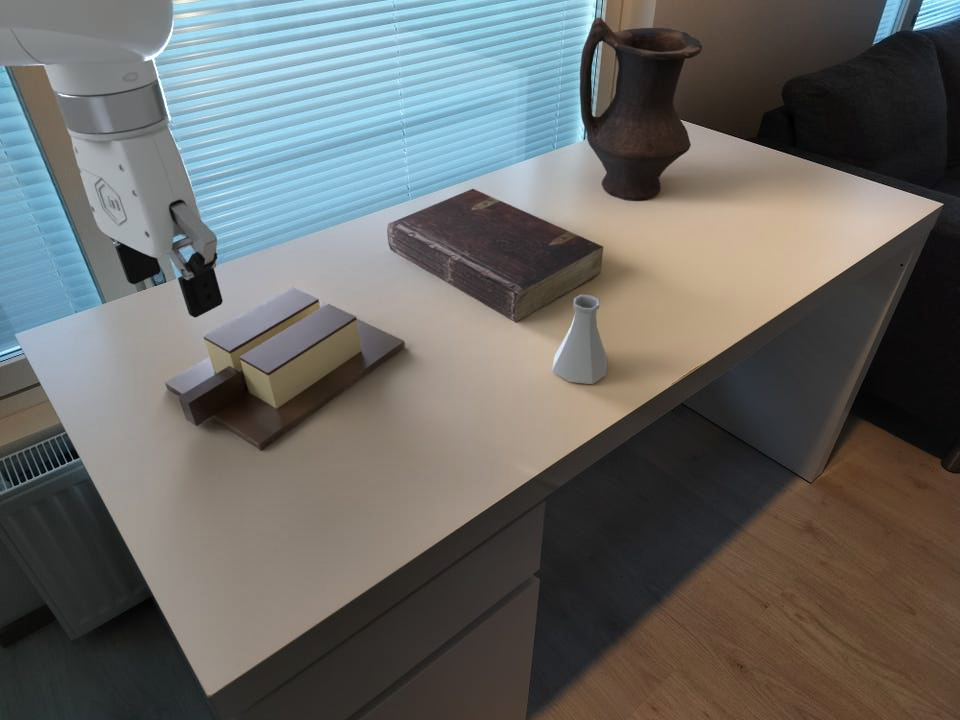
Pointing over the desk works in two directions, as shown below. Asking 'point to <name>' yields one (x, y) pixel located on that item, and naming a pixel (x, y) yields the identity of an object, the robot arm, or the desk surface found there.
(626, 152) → the jug
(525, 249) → the hardback book
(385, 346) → the cake board
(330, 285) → the desk surface
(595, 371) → the flask
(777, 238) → the desk surface
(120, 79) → the robot arm
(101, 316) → the desk surface
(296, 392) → the cake
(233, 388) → the knife
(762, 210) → the desk surface
